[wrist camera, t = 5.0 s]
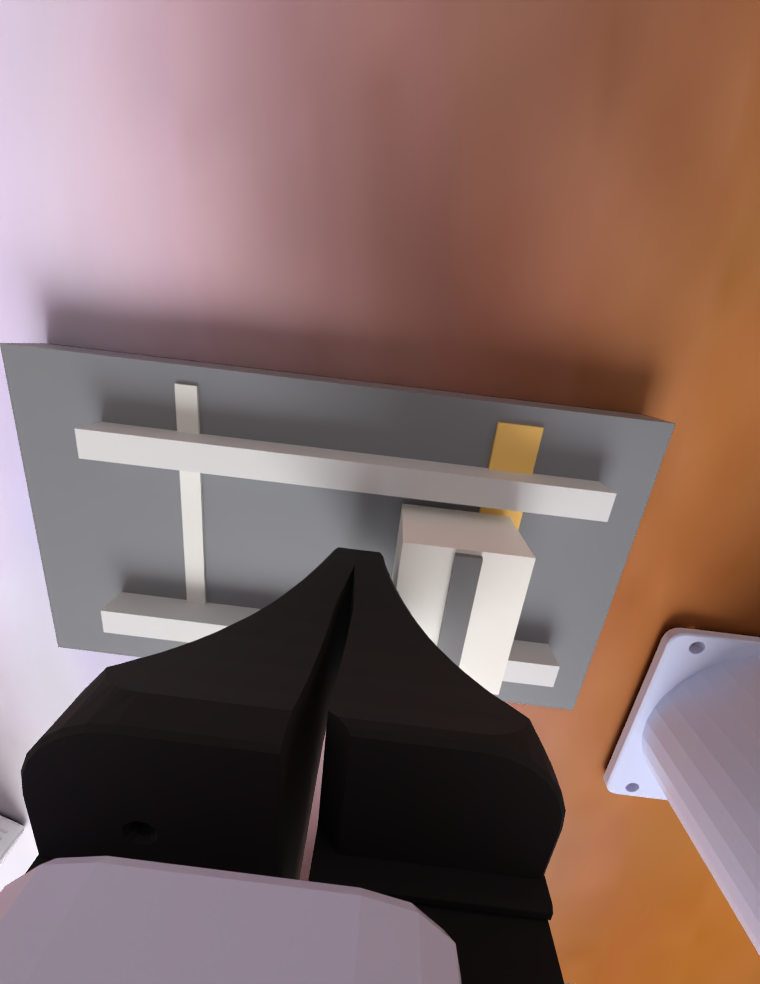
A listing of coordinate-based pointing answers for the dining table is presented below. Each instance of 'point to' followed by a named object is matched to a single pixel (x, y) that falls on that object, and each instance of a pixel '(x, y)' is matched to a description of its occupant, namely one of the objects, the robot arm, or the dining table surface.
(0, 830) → the skincare box
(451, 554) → the fader tab
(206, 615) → the board
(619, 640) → the dining table surface
